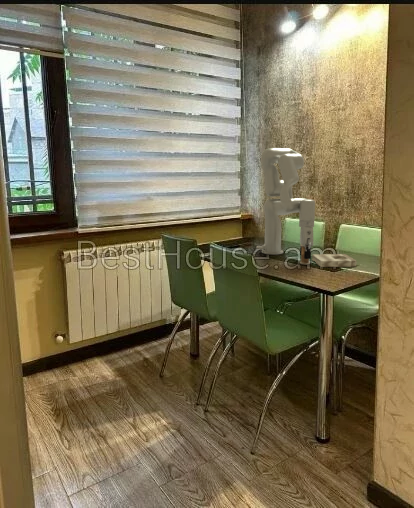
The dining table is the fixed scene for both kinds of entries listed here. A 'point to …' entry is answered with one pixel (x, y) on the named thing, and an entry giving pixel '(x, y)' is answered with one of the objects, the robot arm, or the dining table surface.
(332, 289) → the dining table surface
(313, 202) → the robot arm
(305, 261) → the bobbin
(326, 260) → the socket board
